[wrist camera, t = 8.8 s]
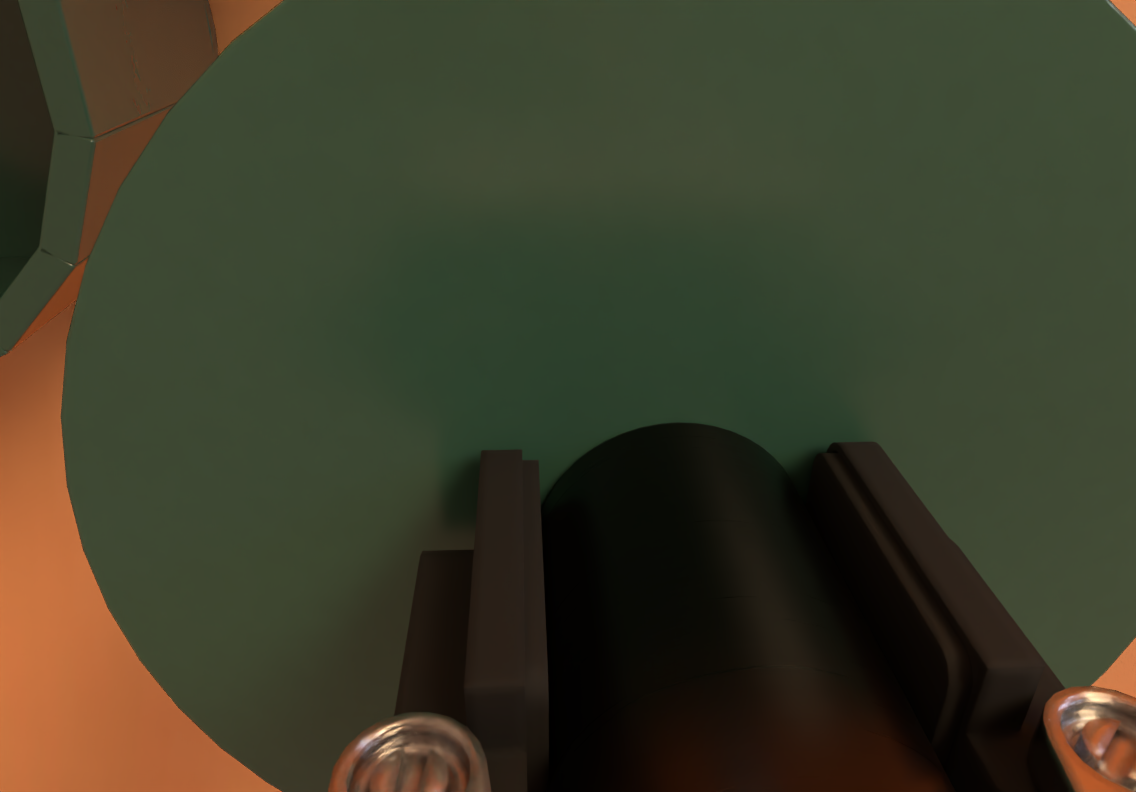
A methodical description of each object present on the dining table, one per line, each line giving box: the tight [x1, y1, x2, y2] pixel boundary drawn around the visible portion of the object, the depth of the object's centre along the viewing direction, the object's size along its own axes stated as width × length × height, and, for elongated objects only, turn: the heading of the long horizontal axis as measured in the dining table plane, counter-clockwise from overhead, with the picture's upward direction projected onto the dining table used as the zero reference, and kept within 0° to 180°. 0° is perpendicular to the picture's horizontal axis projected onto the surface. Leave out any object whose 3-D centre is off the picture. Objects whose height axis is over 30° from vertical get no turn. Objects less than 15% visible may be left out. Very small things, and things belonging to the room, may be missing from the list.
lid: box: [61, 0, 1136, 792], centre depth 9 cm, size 16×16×7 cm
